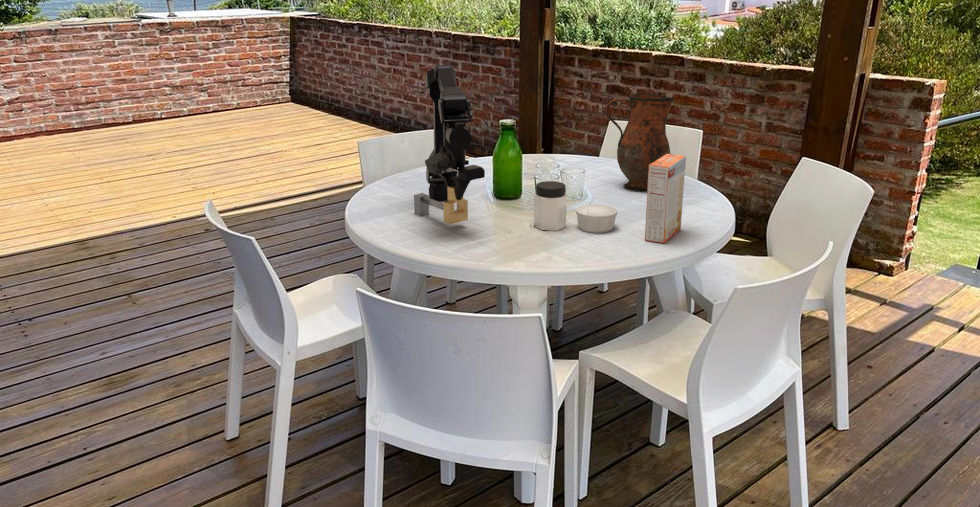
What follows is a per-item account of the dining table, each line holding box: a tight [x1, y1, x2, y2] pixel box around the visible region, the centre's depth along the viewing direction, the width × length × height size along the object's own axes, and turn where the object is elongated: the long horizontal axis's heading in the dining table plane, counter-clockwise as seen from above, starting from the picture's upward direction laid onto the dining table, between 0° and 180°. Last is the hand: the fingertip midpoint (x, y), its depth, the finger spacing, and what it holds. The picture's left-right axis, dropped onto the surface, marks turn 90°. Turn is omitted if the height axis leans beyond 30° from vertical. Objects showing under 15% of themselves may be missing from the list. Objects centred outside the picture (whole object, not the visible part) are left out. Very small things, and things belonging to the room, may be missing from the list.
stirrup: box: [442, 185, 469, 225], centre depth 212 cm, size 6×3×10 cm, turn 130°
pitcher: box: [605, 92, 675, 193], centre depth 250 cm, size 17×21×30 cm
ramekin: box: [575, 204, 618, 234], centre depth 216 cm, size 11×11×5 cm
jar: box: [533, 180, 568, 232], centre depth 216 cm, size 9×8×12 cm
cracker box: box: [644, 153, 687, 244], centre depth 207 cm, size 14×6×21 cm, turn 149°
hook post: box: [413, 192, 444, 218], centre depth 222 cm, size 4×15×6 cm, turn 40°
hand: (455, 198), depth 212 cm, fingers closed on stirrup, 3 cm apart
